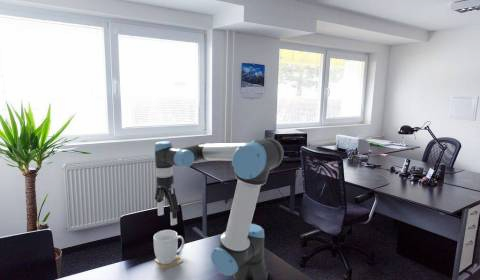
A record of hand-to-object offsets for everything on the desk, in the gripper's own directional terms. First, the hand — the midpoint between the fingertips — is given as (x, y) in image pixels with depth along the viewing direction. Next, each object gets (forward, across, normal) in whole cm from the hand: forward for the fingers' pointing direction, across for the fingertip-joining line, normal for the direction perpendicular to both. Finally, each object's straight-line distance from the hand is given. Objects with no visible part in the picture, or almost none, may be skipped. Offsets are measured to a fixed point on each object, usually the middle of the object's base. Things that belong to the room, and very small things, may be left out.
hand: (167, 219), depth 139 cm
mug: (+21, 0, 0) cm, 21 cm away
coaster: (+21, 0, 0) cm, 21 cm away
